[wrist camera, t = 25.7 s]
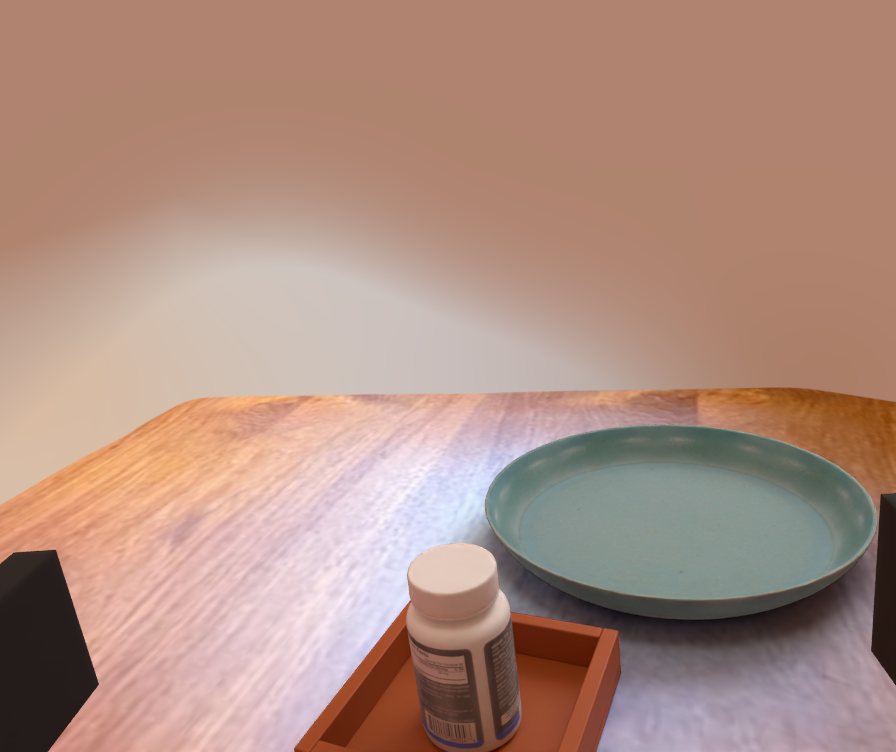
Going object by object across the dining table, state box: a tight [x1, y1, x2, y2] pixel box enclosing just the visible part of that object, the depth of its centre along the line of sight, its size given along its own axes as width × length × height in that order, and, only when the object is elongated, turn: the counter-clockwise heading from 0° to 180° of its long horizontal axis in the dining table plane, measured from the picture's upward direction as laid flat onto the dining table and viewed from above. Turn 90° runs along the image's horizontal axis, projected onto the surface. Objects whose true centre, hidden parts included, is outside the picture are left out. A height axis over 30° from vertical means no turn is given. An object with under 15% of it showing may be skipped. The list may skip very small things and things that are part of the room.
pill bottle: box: [406, 543, 522, 752], centre depth 33 cm, size 5×5×8 cm
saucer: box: [485, 425, 878, 620], centre depth 49 cm, size 24×24×3 cm
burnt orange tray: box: [294, 600, 621, 752], centre depth 34 cm, size 12×12×3 cm
